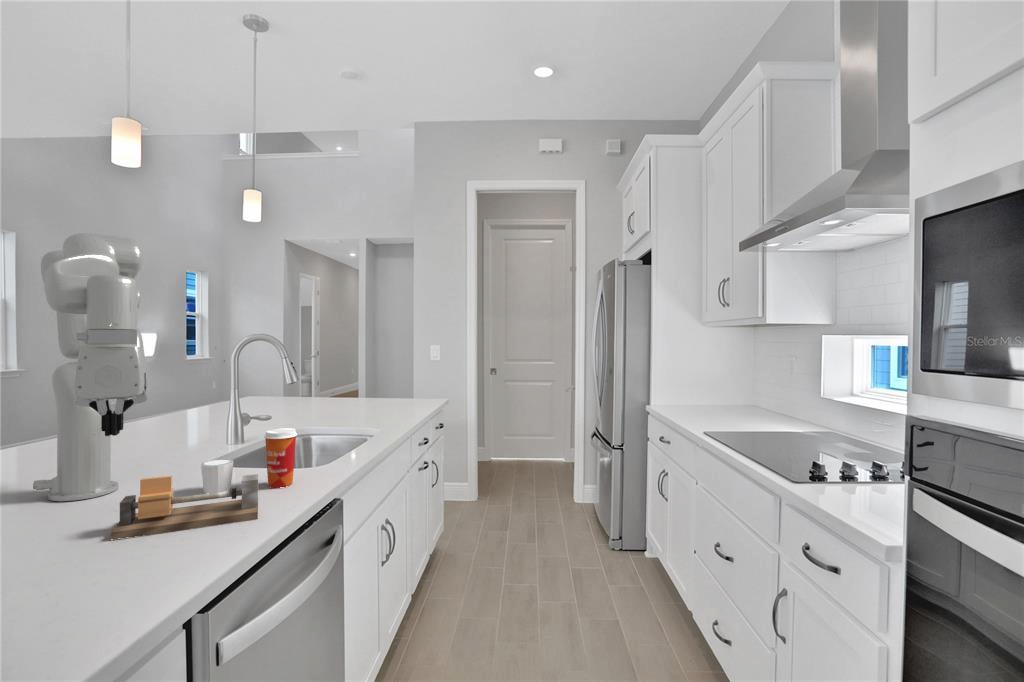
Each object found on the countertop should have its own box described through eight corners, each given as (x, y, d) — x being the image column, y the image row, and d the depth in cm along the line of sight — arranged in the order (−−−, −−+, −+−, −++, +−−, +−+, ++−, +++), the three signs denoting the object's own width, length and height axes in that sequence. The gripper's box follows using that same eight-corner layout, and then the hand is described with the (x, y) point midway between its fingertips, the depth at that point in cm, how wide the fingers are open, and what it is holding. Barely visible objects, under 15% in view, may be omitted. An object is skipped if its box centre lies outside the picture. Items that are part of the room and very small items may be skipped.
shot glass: (218, 496, 113) (218, 466, 113) (193, 493, 114) (193, 464, 114) (240, 487, 120) (240, 459, 120) (216, 485, 121) (216, 457, 121)
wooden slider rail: (110, 540, 88) (110, 500, 88) (124, 521, 97) (124, 485, 97) (257, 518, 99) (257, 483, 99) (258, 503, 108) (258, 471, 108)
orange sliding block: (138, 519, 92) (138, 482, 92) (143, 512, 96) (143, 476, 96) (169, 515, 95) (169, 478, 94) (173, 508, 98) (173, 473, 98)
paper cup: (256, 487, 120) (256, 431, 120) (281, 479, 127) (282, 426, 127) (279, 491, 117) (280, 434, 117) (304, 482, 124) (304, 429, 124)
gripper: (53, 339, 85) (53, 442, 85) (156, 339, 92) (156, 434, 92) (68, 339, 92) (68, 435, 91) (163, 339, 98) (163, 428, 98)
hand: (112, 434), depth 92 cm, fingers closed
